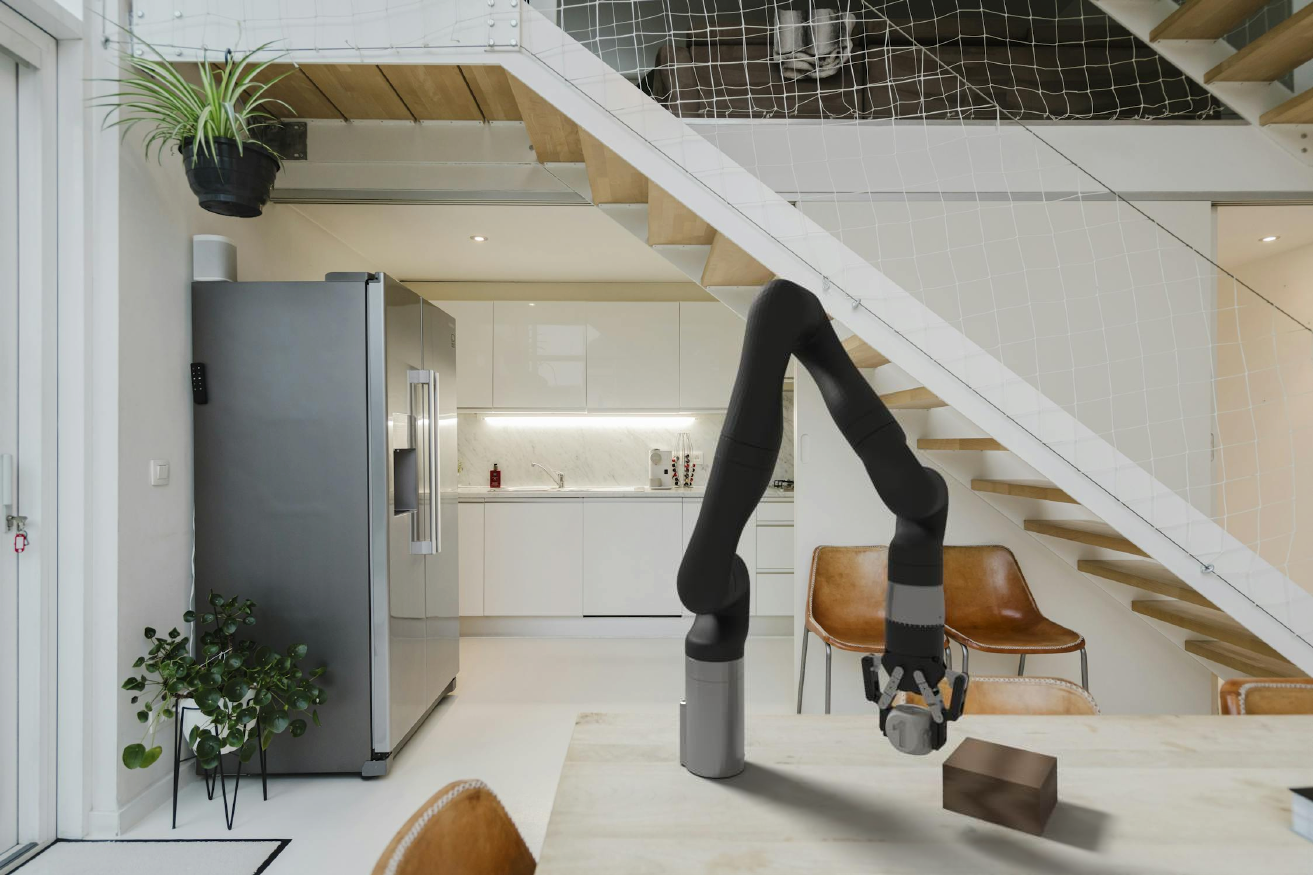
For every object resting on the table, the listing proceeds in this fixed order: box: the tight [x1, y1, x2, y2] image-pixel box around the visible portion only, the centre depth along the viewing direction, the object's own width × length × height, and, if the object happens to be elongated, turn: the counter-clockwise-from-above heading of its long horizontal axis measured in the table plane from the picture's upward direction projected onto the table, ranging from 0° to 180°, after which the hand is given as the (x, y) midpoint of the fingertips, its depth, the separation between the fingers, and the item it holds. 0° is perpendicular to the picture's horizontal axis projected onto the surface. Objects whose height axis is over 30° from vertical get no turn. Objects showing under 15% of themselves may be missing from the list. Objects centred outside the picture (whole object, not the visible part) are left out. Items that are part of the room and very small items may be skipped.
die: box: [886, 703, 934, 756], centre depth 97 cm, size 5×5×5 cm
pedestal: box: [941, 736, 1059, 837], centre depth 101 cm, size 12×12×6 cm
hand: (912, 741), depth 97 cm, fingers closed on die, 6 cm apart
